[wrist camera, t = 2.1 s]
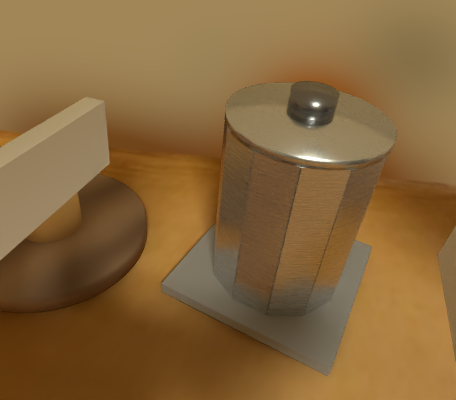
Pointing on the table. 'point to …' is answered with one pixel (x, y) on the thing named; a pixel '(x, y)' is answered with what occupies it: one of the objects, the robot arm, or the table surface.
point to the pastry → (59, 223)
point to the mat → (271, 325)
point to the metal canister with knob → (294, 192)
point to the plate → (78, 253)
